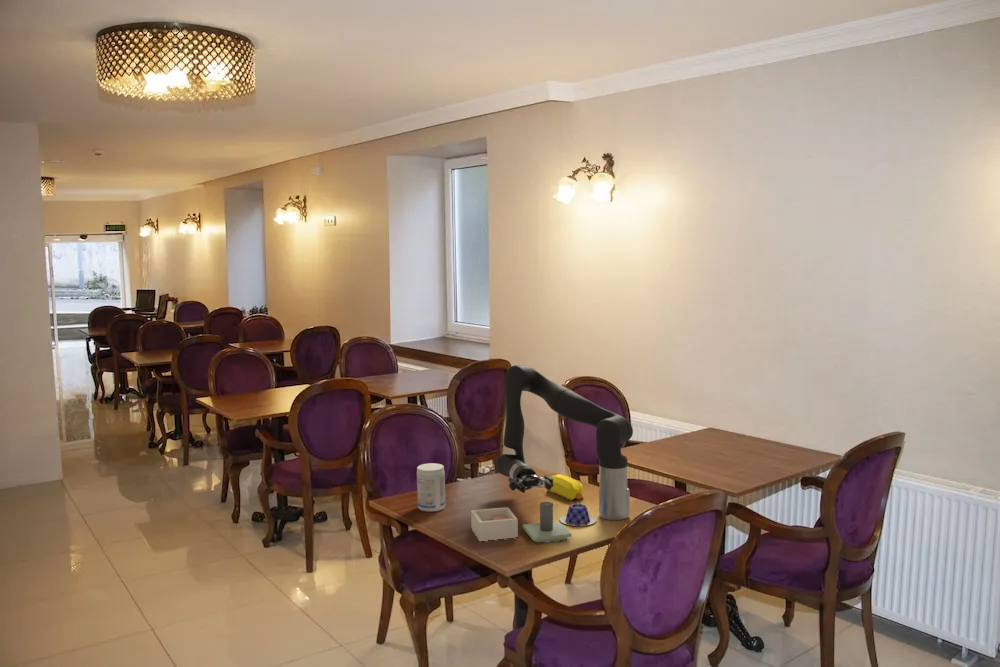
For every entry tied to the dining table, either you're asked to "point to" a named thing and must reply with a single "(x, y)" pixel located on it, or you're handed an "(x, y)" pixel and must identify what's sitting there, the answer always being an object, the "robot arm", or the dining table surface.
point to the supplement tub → (431, 487)
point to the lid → (546, 526)
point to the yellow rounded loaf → (567, 487)
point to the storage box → (494, 524)
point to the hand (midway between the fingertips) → (536, 488)
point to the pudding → (577, 515)
